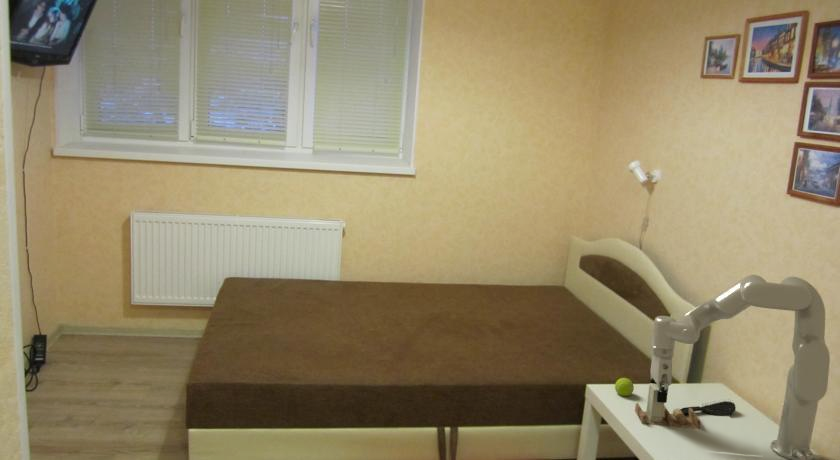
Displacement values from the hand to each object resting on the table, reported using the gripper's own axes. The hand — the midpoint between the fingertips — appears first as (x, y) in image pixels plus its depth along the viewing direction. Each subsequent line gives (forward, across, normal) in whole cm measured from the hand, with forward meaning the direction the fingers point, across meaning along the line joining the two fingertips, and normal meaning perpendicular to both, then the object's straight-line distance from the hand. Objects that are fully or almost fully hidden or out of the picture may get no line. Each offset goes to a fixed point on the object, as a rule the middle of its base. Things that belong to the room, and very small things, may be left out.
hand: (657, 396), depth 235 cm
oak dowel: (+9, 0, -9) cm, 13 cm away
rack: (+9, 0, -4) cm, 10 cm away
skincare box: (+9, 0, 0) cm, 9 cm away
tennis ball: (+9, +19, +7) cm, 22 cm away
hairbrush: (+10, +10, -21) cm, 25 cm away
